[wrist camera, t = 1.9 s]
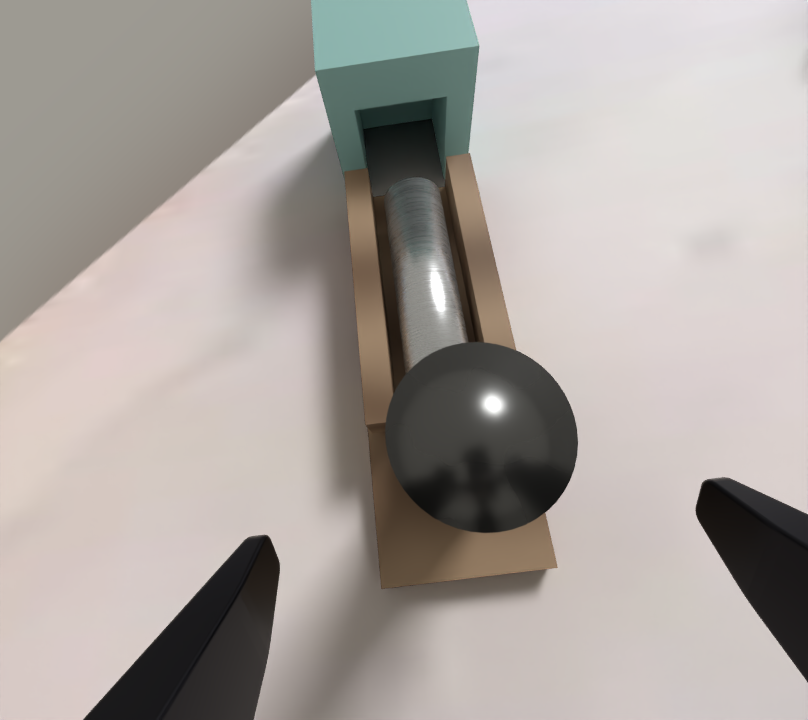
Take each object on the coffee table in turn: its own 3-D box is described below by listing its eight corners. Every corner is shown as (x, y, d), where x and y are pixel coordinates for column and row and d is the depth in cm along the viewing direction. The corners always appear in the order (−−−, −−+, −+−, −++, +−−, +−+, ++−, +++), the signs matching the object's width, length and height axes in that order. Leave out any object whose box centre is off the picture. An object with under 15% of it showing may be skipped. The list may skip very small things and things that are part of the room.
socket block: (465, 176, 23) (479, 45, 16) (348, 193, 23) (315, 70, 17) (449, 104, 25) (456, -37, 19) (342, 120, 25) (310, -15, 19)
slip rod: (501, 509, 16) (602, 519, 6) (417, 520, 16) (396, 544, 6) (445, 214, 21) (455, -17, 11) (381, 223, 21) (341, 1, 12)
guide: (550, 563, 16) (575, 576, 13) (384, 583, 16) (374, 601, 13) (468, 196, 22) (473, 152, 20) (351, 213, 23) (340, 172, 20)
